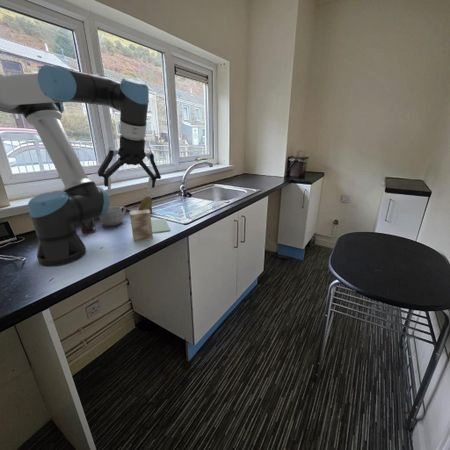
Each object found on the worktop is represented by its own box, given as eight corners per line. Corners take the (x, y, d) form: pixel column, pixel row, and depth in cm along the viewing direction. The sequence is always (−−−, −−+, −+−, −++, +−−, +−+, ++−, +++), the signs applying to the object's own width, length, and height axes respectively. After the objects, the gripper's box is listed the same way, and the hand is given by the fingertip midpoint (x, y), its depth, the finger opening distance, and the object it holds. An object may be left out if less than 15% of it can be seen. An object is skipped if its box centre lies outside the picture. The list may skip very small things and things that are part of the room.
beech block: (133, 241, 102) (129, 214, 98) (133, 237, 107) (129, 211, 102) (153, 238, 105) (150, 212, 101) (151, 234, 109) (149, 209, 105)
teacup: (106, 229, 114) (103, 213, 111) (97, 224, 121) (94, 209, 118) (133, 222, 124) (131, 207, 121) (123, 217, 131) (121, 203, 128)
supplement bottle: (99, 230, 113) (94, 207, 109) (87, 235, 108) (81, 211, 104) (91, 228, 116) (86, 205, 112) (79, 232, 111) (73, 209, 107)
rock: (139, 214, 129) (156, 208, 134) (132, 200, 129) (150, 195, 135) (136, 221, 138) (153, 215, 143) (130, 208, 138) (146, 202, 144)
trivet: (141, 234, 109) (141, 233, 108) (139, 222, 123) (139, 221, 123) (170, 231, 113) (170, 229, 113) (165, 219, 128) (165, 218, 128)
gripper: (87, 135, 67) (91, 199, 79) (174, 145, 79) (166, 199, 91) (87, 126, 72) (90, 188, 84) (168, 137, 84) (161, 189, 96)
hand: (129, 194), depth 87 cm, fingers open, 13 cm apart
